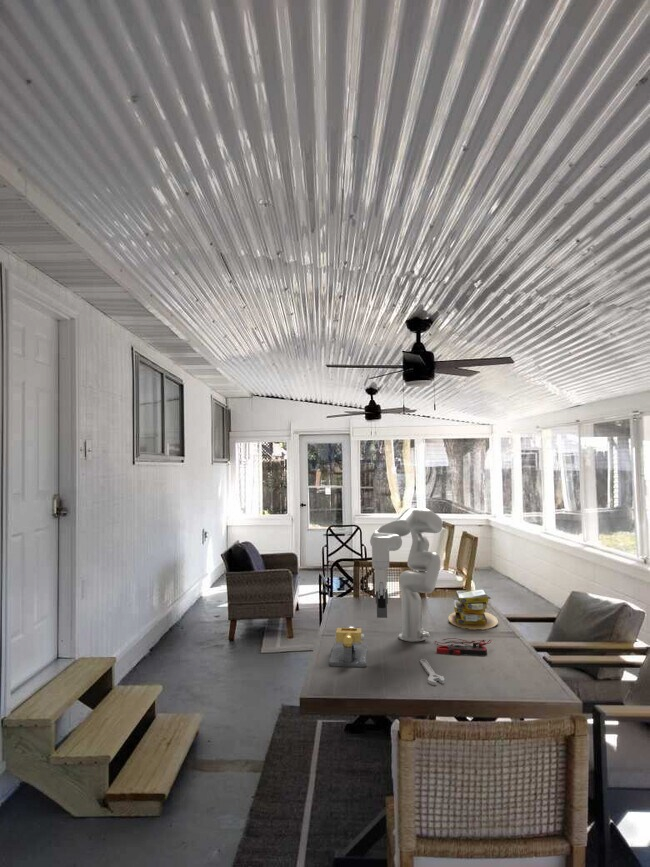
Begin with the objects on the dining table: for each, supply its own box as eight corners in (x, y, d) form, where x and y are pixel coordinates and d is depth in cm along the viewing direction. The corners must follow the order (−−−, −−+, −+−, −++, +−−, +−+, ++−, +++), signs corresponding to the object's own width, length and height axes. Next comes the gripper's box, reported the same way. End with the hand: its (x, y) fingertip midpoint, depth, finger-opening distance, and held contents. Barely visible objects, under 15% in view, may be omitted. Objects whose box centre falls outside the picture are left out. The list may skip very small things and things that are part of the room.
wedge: (376, 616, 240) (375, 588, 240) (388, 616, 239) (387, 588, 240) (376, 617, 238) (375, 589, 238) (388, 617, 237) (387, 589, 238)
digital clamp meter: (495, 647, 235) (435, 644, 239) (495, 658, 234) (435, 655, 239) (488, 631, 257) (434, 629, 262) (488, 641, 257) (434, 639, 261)
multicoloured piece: (334, 646, 249) (333, 621, 250) (367, 647, 248) (366, 622, 248) (329, 665, 225) (329, 638, 225) (366, 667, 223) (365, 638, 224)
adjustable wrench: (419, 663, 229) (419, 658, 229) (434, 663, 229) (434, 658, 229) (429, 686, 204) (429, 681, 204) (446, 686, 204) (446, 681, 204)
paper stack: (496, 631, 272) (496, 597, 273) (446, 627, 280) (445, 593, 281) (498, 618, 295) (497, 587, 296) (451, 615, 303) (450, 584, 304)
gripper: (372, 561, 248) (373, 602, 247) (372, 567, 232) (373, 612, 231) (389, 561, 247) (390, 602, 246) (389, 567, 231) (390, 612, 230)
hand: (381, 606), depth 239 cm, fingers closed on wedge, 1 cm apart
